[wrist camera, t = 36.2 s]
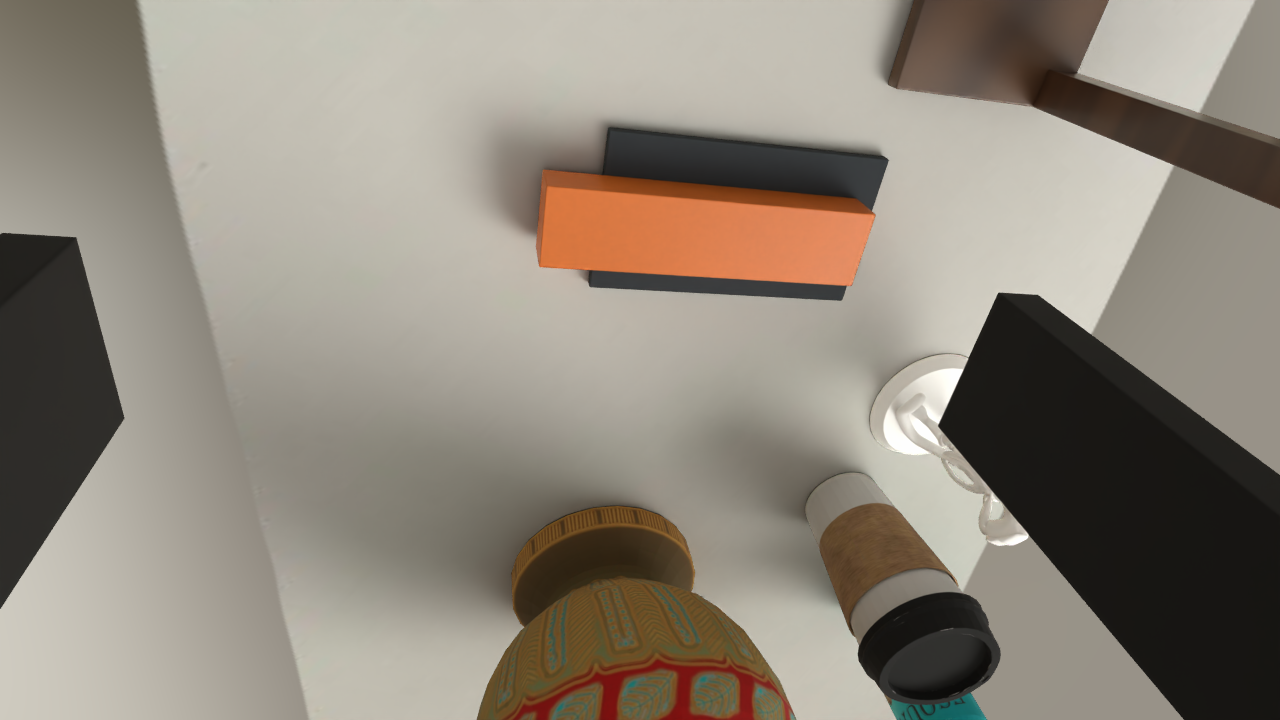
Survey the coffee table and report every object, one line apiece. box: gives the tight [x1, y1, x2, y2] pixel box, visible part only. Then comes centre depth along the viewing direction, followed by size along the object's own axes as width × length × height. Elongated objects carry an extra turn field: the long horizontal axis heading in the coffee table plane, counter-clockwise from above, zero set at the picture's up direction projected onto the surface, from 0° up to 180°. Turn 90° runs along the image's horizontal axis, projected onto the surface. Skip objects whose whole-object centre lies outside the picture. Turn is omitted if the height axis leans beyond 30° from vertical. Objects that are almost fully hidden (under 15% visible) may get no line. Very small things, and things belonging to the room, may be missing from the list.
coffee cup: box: [805, 473, 1001, 705], centre depth 51 cm, size 8×8×15 cm
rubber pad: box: [588, 127, 889, 301], centre depth 42 cm, size 16×9×1 cm, turn 81°
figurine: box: [870, 354, 1029, 546], centre depth 47 cm, size 9×9×15 cm
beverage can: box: [884, 693, 987, 720], centre depth 57 cm, size 6×6×15 cm
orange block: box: [536, 170, 875, 286], centre depth 40 cm, size 18×4×2 cm, turn 81°
